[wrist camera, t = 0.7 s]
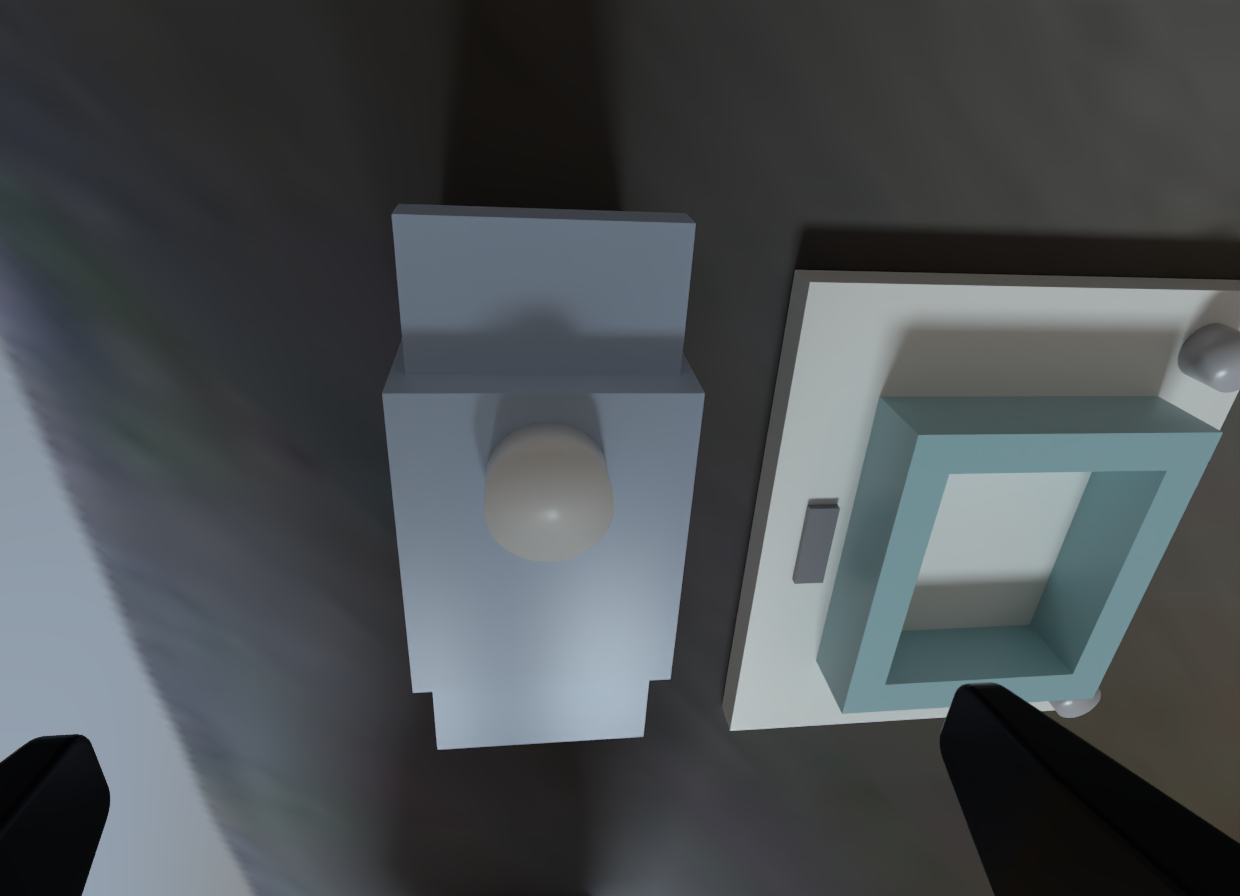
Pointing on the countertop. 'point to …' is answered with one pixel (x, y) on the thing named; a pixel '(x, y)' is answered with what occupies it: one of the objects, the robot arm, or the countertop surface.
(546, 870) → the countertop surface
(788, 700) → the chassis plate
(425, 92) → the countertop surface
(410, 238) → the block
